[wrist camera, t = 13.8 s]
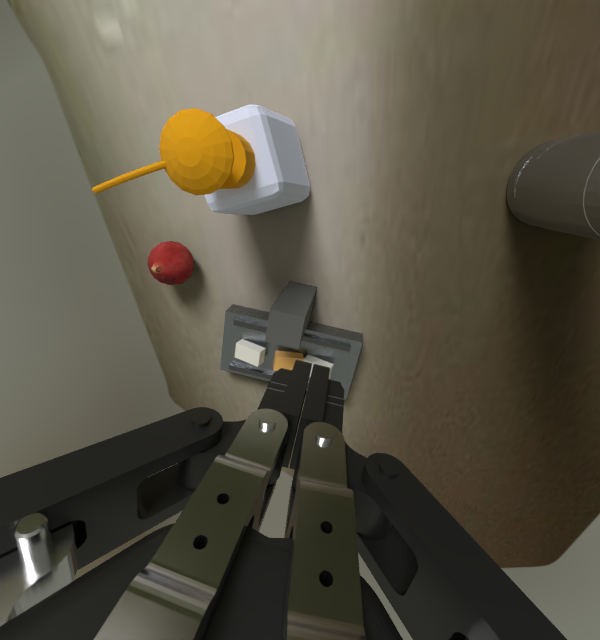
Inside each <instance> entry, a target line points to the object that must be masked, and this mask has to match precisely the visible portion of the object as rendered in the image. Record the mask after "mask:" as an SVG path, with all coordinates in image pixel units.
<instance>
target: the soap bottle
mask: <svg viewBox="0 0 600 640" xmlns="http://www.w3.org/2000/svg"><path fill="white" fill-rule="evenodd" d="M159 150H160V155H161V160H162V161H160V162H157V163H154V164H151V165H149V166H146V167H143V168H140V169H137V170H135V171H132V172H129V173H126V174H124V175H121V176H119V177H116V178H114V179H112V180H109V181H107V182H105V183H102V184H100V185H97V186H95V187H93V188H92V191H93V192H94V193H99V192H102V191H104V190H107V189H109V188H112V187H114V186H117V185H119V184H122V183H124V182H127V181H129V180H132V179H135V178H138V177H140V176H143V175H146V174H149V173H152V172H155V171H158V170H161V169H165V171H166V172H167V174H168V176H169V178H170V179H171V181H173V182H174V183H175V184H176V185H177V186H178V187H179V188H180V189H182V190H183V191H186V192H189V193H191V194H194V195H205V198H206V200H207V203H208V205H209V207H210V208H211V210H212V211H213V212H217V213H224V214H242V215H256V214H260V213H263V212H267V211H270V210H274V209H277V208H281V207H284V206H288V205H291V204H295V203H298V202H302V201H303V200H305V199H306V198H307V197H308V196H309V193H310V183H309V179H308V175H307V170H306V166H305V162H304V158H303V153H302V149H301V145H300V141H299V137H298V132H297V128H296V126H295V125H294V123H293V122H292V120H291V119H290V118H287V117H285V116H283V115H280V114H278V113H276V112H273V111H271V110H269V109H266V108H264V107H262V106H259V105H251V104H249V105H246V106H244V107H241V108H238V109H236V110H233V111H230V112H228V113H225V114H222V115H220V116H217V117H214V116H213V115H212V114H210V113H207V112H205V111H202V110H199V109H196V108H194V109H186V110H181V111H179V112H178V113H176V114H175V115H174V116H172V117H171V118H169V120H168V121H167V123H166V125H165V127H164V129H163V130H162V132H161V139H160V147H159Z"/></svg>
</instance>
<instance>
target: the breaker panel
mask: <svg viewBox="0 0 600 640" xmlns="http://www.w3.org/2000/svg"><path fill="white" fill-rule="evenodd" d="M268 318H269V312H265V311H260V310H256V309H251V308H247V307H243V306H238V305H234V304H233V305H232V306H231V307H230V308H229V309H227V310H226V314H225V325H224V336H223V346H222V357H221V368H220V370H224V371H229V372H233V373H237V374H241V375H245V376H249V377H253V378H257V379H261V380H265V381H270V380H271V378H272V376H273V374H274V373H275V372H276V371H273V362H274V356H275V350H276V351H286V352H296V353H303V357H304V358H305V357H306V356H307V355H311V356H313V357H316V358H319V359H321V360H324V361H327V362H329V363H332V364H334V365H333V369H332V373H331V377H330V380H334V381H338V382H340V383H341V385H342V387H343V388H344V400H346V399H347V395H348V392H349V389H350V385H351V382H352V378H353V375H354V371H355V368H356V364H357V361H358V357H359V354H360V350H361V347H362V343H363V338H362V334H361V333H357V332H352V331H348V330H344V329H339V328H335V327H330V326H326V325H322V324H317V323H313V322H309V321H308V324H307V327H306V330H305V333H304V336H303V339H302V341H301V344H300V347H299V349H295V348H291V347H287V346H282V345H278V344H274V343H270V342H265V338H266V331H267V325H268ZM242 339H244V340H246V341H249V342H251V343H254V344H256V345H259V346H262V347H264V348H266V350H265V356H264V362H263V363H262V364H261V365H260V366H258V367H257V366H254V365H252V364H250V363H247V362H245V361H242V360H240V359H238V358H235V348H236V343H237V342H238V341H240V340H242ZM309 381H310V377H309ZM309 381H308V385H307V390H308V386H309ZM307 390H306V391H307Z"/></svg>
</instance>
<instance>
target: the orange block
mask: <svg viewBox="0 0 600 640" xmlns="http://www.w3.org/2000/svg"><path fill="white" fill-rule="evenodd" d="M296 360H300V361H304V357H303V353H296V352H286V351H276V350H275V356H274V362H273V371H278V370H279V369H280V368H284V369H288V370H292V369H293V366H294V363H295V361H296Z"/></svg>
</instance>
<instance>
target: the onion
mask: <svg viewBox="0 0 600 640" xmlns="http://www.w3.org/2000/svg"><path fill="white" fill-rule="evenodd" d="M148 267H149V270H150V273H151V274H152V275H153V277H154V278H155V279H157V280H158V281H159V282H161V283H165V284H168V285H175V284H181V283H183V282H184V281H186V280H187V279H188V278H189V277H190V276H191V274H192V272H193V269H194V260H193V257H192V254H191V253H190V251H189V250H188V249H187V248H186V247H185V246H183V245H182V244H180V243H178V242H173V241H169V242H163V243H160V244H159V245H157V246H156V247H155V248H153V249H152V251H151V253H150V255H149V257H148Z"/></svg>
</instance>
